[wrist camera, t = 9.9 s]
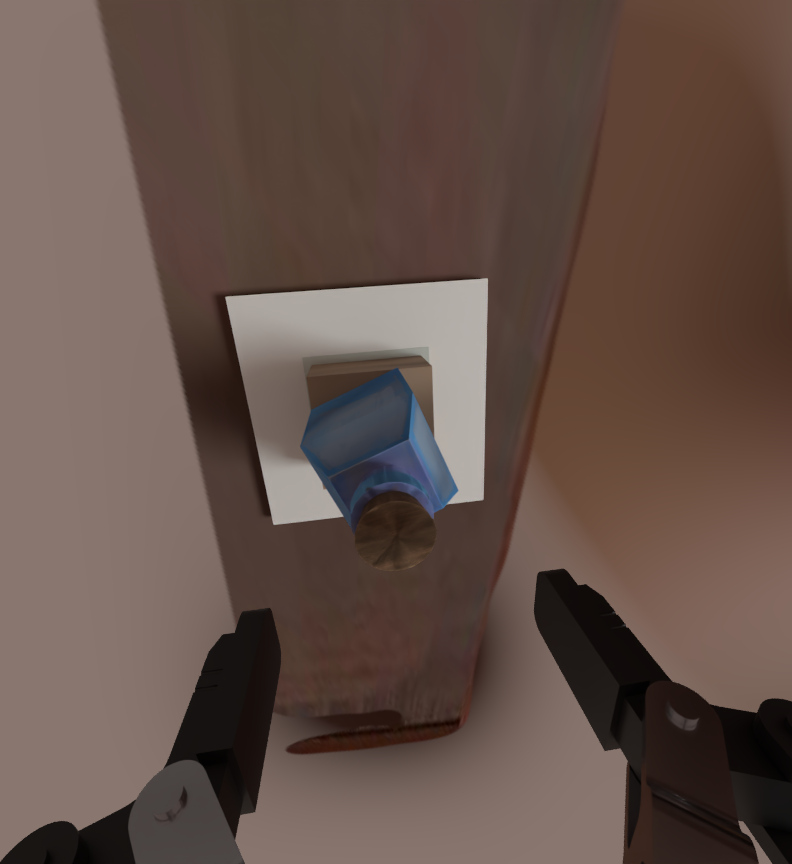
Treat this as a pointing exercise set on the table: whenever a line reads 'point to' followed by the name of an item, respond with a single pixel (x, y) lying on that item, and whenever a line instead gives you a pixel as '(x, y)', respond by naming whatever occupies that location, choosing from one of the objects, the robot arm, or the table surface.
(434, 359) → the build board
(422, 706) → the table surface
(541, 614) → the robot arm
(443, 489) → the perfume bottle
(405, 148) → the table surface
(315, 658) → the table surface
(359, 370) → the walnut block
